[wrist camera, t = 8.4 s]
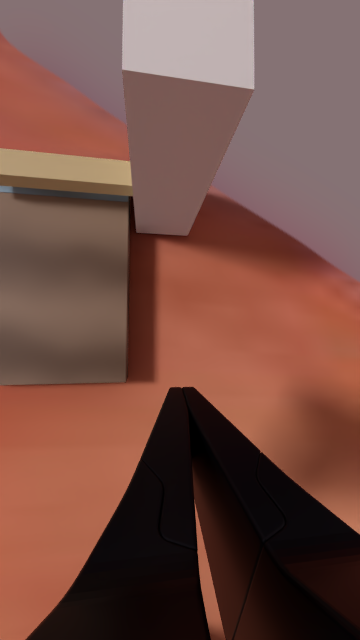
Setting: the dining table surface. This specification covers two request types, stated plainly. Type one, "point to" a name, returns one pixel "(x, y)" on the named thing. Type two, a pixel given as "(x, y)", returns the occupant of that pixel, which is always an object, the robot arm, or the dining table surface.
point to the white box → (163, 112)
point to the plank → (63, 286)
